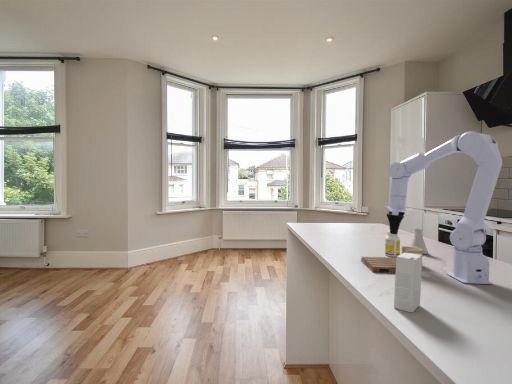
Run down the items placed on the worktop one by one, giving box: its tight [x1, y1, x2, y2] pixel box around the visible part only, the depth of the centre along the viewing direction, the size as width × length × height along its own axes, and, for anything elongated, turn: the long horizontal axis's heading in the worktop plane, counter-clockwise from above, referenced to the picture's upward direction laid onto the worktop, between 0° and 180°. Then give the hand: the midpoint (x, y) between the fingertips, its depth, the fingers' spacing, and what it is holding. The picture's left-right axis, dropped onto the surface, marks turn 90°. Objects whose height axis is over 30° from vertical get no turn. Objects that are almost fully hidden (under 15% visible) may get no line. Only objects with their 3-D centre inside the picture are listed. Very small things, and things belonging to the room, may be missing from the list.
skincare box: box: [393, 253, 423, 313], centre depth 71 cm, size 6×4×12 cm
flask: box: [410, 227, 429, 255], centre depth 129 cm, size 7×7×10 cm
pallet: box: [360, 256, 397, 274], centre depth 106 cm, size 14×12×2 cm
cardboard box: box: [401, 245, 423, 256], centre depth 110 cm, size 5×5×6 cm
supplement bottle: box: [384, 230, 401, 258], centre depth 123 cm, size 5×5×10 cm
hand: (394, 232), depth 114 cm, fingers open, 7 cm apart
